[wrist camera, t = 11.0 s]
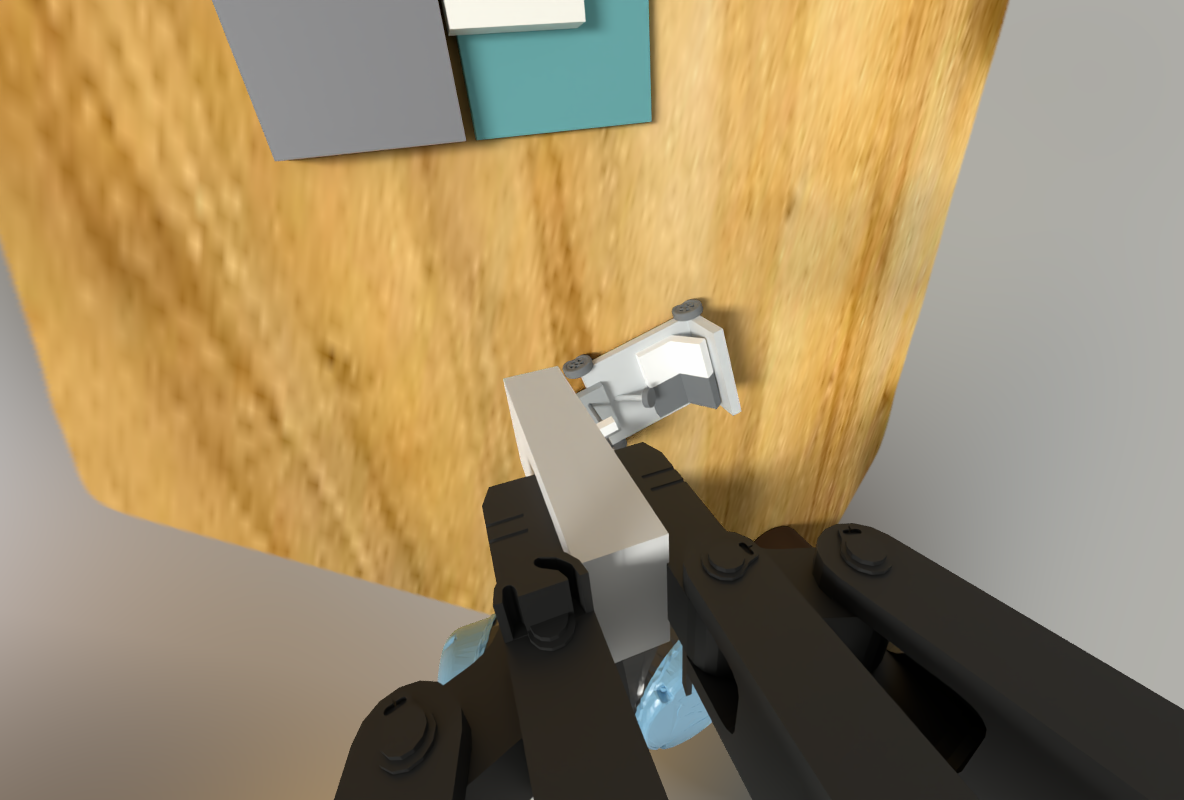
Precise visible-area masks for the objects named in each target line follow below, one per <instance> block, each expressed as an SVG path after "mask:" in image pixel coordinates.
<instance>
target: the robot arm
mask: <svg viewBox="0 0 1184 800" xmlns="http://www.w3.org/2000/svg"><path fill="white" fill-rule="evenodd" d="M503 381H504V385H505V390H506V395H507V399H508V404H509V409H510V413H511V418H512V423H513V427H514V432H515V436H516V441H517V446H518V450H519V455H520V460H521V463H522V466H523V469H524V472H525V475H526V477H524V478H520V479H517V480H513V481H509V482H506V483H502V484H499V485H495V486H492V487H489V489H488V491H487V494H486V497H485V500H484V502H483V505H482V508H483V513H484V519H485V524H486V528H487V535H488V540H489V544H490V551H491V556H492V561H493V567H494V572H495V577H496V583H497V584H496V586H495V588H494V596H493V608H494V611H495V614H492V615H491V617H489V618H486V619H484V620H480V621H478V622H475V623H472V624H469V625H466V626H463V627H461V628H458V629H457V630H455V631H454V632H453V633H452V634H451V635H450V637H449V638H448V639H447V641H446V643H445V645H444V648H443V651H442V655H441V660H440V666H439V673H438V682H433V681H418V682H414V683H411V684H408V685H405V686H402V687H400V688H398V689H397V690H395V691H394V692H393V693H391V694H390V695H388V696H387V697H385V698H384V699H382V700H381V701H380V702H379V703H378V704H377V705H376V706H375V708H374V709H373V710H372V711H371V712H370V714H369V715H368V716H367V717H366V718H365V720H364V721H363V722H362V724H361V726H360V728H359V731H358V732H357V735H356V737H355V739H354V741H353V743H352V745H351V748H350V751H349V754H348V757H347V760H346V764H345V767H344V770H343V773H342V776H341V779H340V783H339V786H338V789H337V792H336V795H335V798H334V800H668V798H667V795H666V792H665V790H664V787H663V785H662V782H661V780H660V777H659V775H658V772H657V770H656V767H655V764H654V762H653V759H652V757H651V754H650V752H649V749H652V750H657V749H658V748H662V749H668V748H671V747H674V746H676V745H678V744H681V743H683V742H684V741H686V740H688V739H690V738H691V737H693V736H695V735H696V734H698V733H699V732H700V731H702V730H703V729H704V728H706V727H707V726H708V725H709V724H710V723H713V725H714V726H715V728H716V730H717V732H718V734H719V736H720V738H721V740H722V742H723V744H724V746H725V748H726V750H727V751H728V754H729V755H730V757H731V759H732V761H733V763H734V765H735V767H736V769H737V771H738V773H739V775H740V777H741V779H742V781H743V782H744V784H745V786H746V788H747V790H748V792H749V794H750V796H751V798H752V800H1184V710H1183V709H1182V708H1180V707H1179V706H1177V705H1175V704H1173V703H1172V702H1170V701H1168V700H1167V699H1165V698H1163V697H1162V696H1160V695H1158V694H1157V693H1154V692H1153V691H1151V690H1150V689H1148V688H1146V687H1145V686H1143V685H1141V684H1140V683H1138V682H1136V681H1135V680H1133V679H1131V678H1130V677H1128V676H1126V675H1124V674H1123V673H1121V672H1119V671H1118V670H1116V669H1114V668H1113V667H1111V666H1109V665H1108V664H1106V663H1104V662H1102V661H1101V660H1099V659H1097V658H1095V657H1094V656H1092V655H1091V654H1089V653H1087V652H1086V651H1084V650H1082V649H1081V648H1079V647H1077V646H1075V645H1074V644H1072V643H1070V642H1068V641H1067V640H1065V639H1063V638H1062V637H1060V636H1059V635H1057V634H1055V633H1053V632H1052V631H1050V630H1048V629H1047V628H1045V627H1043V626H1042V625H1040V624H1038V623H1037V622H1035V621H1033V620H1031V619H1030V618H1028V617H1026V616H1025V615H1023V614H1021V613H1019V612H1018V611H1016V610H1014V609H1013V608H1011V607H1009V606H1008V605H1006V604H1004V603H1003V602H1001V601H999V600H997V599H996V598H994V597H993V596H991V595H989V594H987V593H986V592H984V591H982V590H981V589H979V588H977V587H976V586H974V585H972V584H971V583H969V582H967V581H965V580H964V579H962V578H960V577H959V576H957V575H955V574H954V573H952V572H950V571H949V570H947V569H945V568H944V567H942V566H940V565H938V564H937V563H935V562H933V561H932V560H930V559H928V558H927V557H925V556H923V555H922V554H920V553H918V552H916V551H915V550H913V549H911V548H910V547H908V546H906V545H905V544H903V543H901V542H900V541H898V540H896V539H894V538H893V537H891V536H889V535H888V534H885V533H883V532H881V531H879V530H876V529H874V528H872V527H868V526H863V525H859V524H853V523H850V524H836V525H834V526H831V527H829V528H827V529H825V530H824V531H823V532H822V533H821V535H820V536H819V537H818V540H817V544H816V547H815V548H794V549H765V548H760V547H759V546H758V545H757V544H756V543H754V542H753V541H752V540H751V539H749V538H747V537H745V536H742V535H740V534H737V533H735V532H728V531H726V530H725V529H724V528H723V527H722V525H721V524H720V523H719V522H718V521H717V519H716V518H715V517H714V516H713V514H712V513H711V512H710V511H709V510H708V508H707V507H706V506H705V505H704V503H703V502H702V501H701V500H700V499H699V497H698V496H697V495H696V494H695V493H694V491H693V490H692V489H691V488H690V486H689V485H688V484H687V483H686V482H684V481H683V478H682V477H681V475H680V474H679V473H678V472H677V471H676V469H675V470H674V468H673V466H672V464H671V463H670V462H669V461H668V460H667V458H666V457H665V456H664V455H663V453H662V452H660V451H658V450H657V449H655V448H653V447H651V446H649V445H647V444H646V443H644V442H642V443H638V444H634V445H631V446H627V447H624V448H620V449H617V450H613V449H612V447H611V446H610V444H609V443H608V441H607V440H606V438H605V437H604V435H603V434H602V432H601V431H600V429H599V428H598V426H597V425H596V423H595V422H594V420H593V419H592V417H591V416H590V414H589V413H588V411H587V410H586V408H585V407H584V405H583V404H582V402H581V401H580V399H579V398H578V396H577V395H576V393H575V392H574V390H573V389H572V387H571V386H570V384H569V383H568V381H567V380H566V378H565V377H564V375H563V374H562V372H561V371H560V369H559V368H558V366H556V367H552V368H547V369H543V370H538V371H534V372H530V373H525V374H521V375H517V376H512V377H508V378H504V379H503ZM648 748H649V749H648Z"/></svg>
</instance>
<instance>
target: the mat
mask: <svg viewBox="0 0 1184 800" xmlns="http://www.w3.org/2000/svg"><path fill="white" fill-rule="evenodd" d="M584 8H585V20H586V22H584V23H583V24H582V25H580V26H579V27H578V28H571V29H555V30H538V31H522V32H505V33H489V34H472V35H456V39H457V44H458V49H459V55H460V60H461V65H462V70H463V75H464V81H465V86H466V91H467V96H468V101H469V107H470V112H471V117H472V122H473V127H474V133H475V138H476V140H484V139H493V138H503V137H512V136H521V135H531V134H540V133H550V132H559V131H569V130H578V129H587V128H597V127H606V126H616V125H625V124H635V123H644V122H652V121H651V80H650V40H649V0H584Z"/></svg>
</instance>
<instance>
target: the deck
mask: <svg viewBox="0 0 1184 800" xmlns="http://www.w3.org/2000/svg"><path fill="white" fill-rule="evenodd" d="M212 2H213V4H214V7H215V9H216V12H217V14H218V17H219V20H220V22H221V25H222V27H223V30H224V32H225V35H226V37H227V40H228V43H229V45H230V48H231V50H232V53H233V55H234V58H235V60H236V63H237V65H238V68H239V71H240V73H241V76H242V78H243V81H244V83H245V86H246V88H247V91H248V94H249V96H250V99H251V101H252V104H253V106H254V109H255V111H256V114H257V117H258V119H259V122H260V124H261V127H262V129H263V132H264V134H265V137H266V139H267V142H268V145H269V147H270V150H271V152H272V155H273V157H274V160H275V161H286V160H295V159H305V158H314V157H324V156H333V155H342V154H352V153H361V152H371V151H380V150H390V149H399V148H408V147H418V146H427V145H437V144H446V143H456V142H464V141H466V137H465V132H464V127H463V122H462V117H461V112H460V107H459V103H458V98H457V93H456V88H455V83H454V78H453V73H452V68H451V63H450V58H449V53H448V48H447V43H446V38H445V33H444V28H443V23H442V18H441V13H440V8H439V3H438V0H212Z"/></svg>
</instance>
